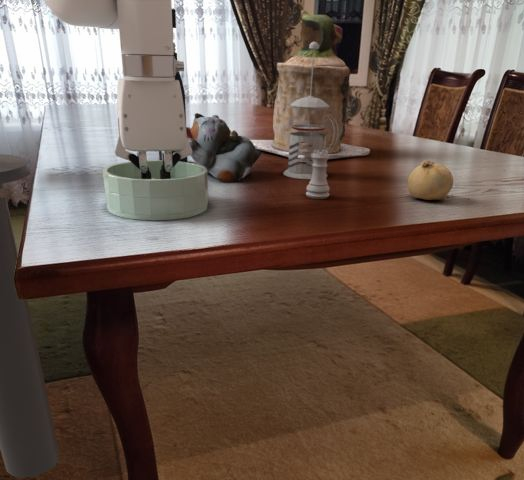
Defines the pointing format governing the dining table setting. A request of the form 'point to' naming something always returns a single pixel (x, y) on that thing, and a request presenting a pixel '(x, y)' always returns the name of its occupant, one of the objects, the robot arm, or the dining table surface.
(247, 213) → the dining table surface
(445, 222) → the dining table surface
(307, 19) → the cookie jar
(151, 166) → the bowl
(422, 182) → the onion
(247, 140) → the lucky cat figurine
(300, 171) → the french press
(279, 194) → the dining table surface
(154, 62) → the robot arm
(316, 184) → the rook chess piece
